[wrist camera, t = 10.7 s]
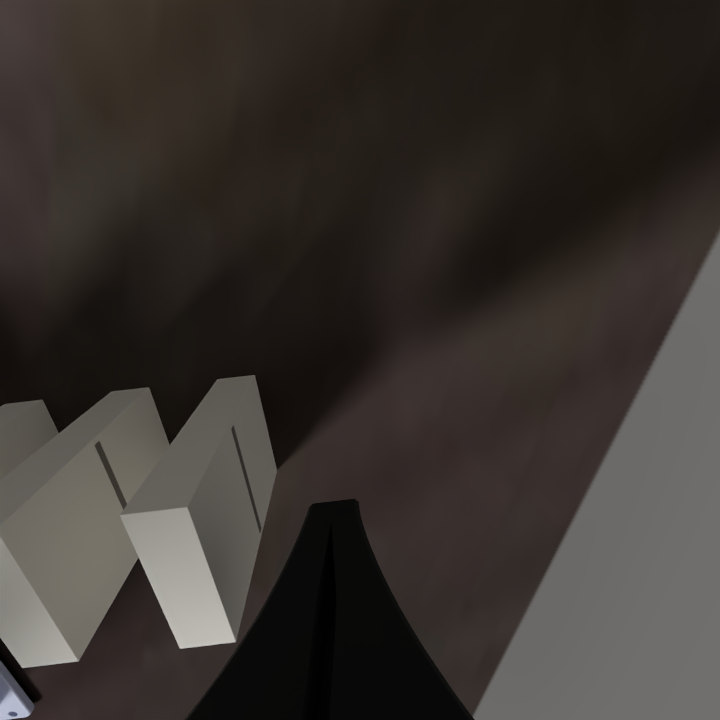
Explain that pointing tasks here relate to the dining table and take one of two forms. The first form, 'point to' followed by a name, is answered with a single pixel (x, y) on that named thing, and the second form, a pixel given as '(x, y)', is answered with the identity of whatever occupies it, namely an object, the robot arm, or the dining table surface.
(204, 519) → the domino
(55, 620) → the domino
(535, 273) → the dining table surface
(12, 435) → the domino
